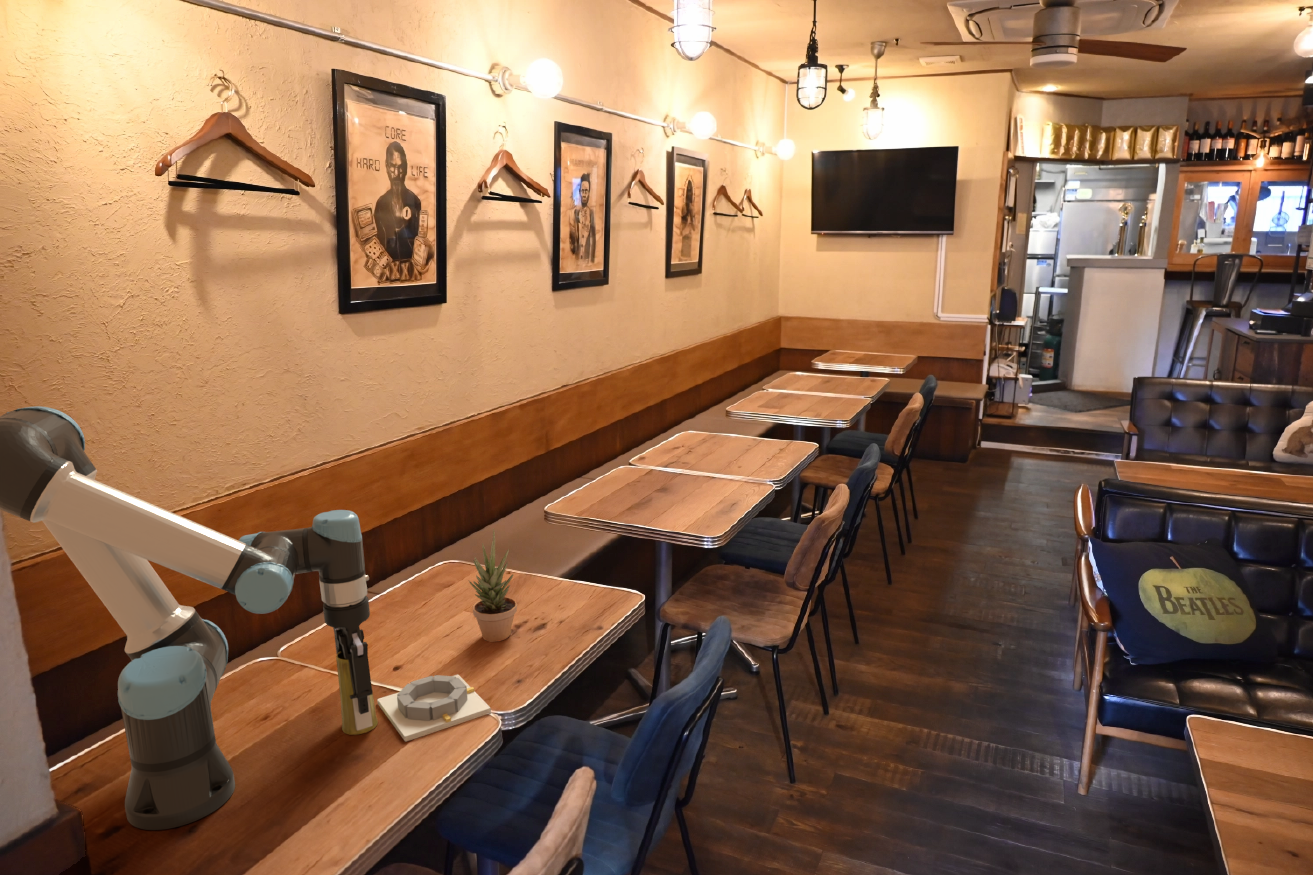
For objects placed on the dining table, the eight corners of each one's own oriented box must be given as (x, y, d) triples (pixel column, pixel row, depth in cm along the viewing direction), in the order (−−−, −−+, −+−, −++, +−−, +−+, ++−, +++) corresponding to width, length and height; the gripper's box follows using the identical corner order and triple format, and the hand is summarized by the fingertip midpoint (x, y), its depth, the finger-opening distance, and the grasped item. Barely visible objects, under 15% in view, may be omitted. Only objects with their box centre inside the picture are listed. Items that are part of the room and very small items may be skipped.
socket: (405, 741, 152) (403, 723, 151) (377, 703, 165) (375, 686, 164) (491, 712, 161) (489, 695, 160) (458, 678, 174) (457, 662, 173)
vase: (366, 736, 154) (358, 662, 151) (335, 733, 155) (326, 659, 152) (383, 718, 160) (376, 646, 156) (353, 715, 161) (345, 644, 158)
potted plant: (510, 646, 187) (503, 536, 182) (468, 644, 188) (459, 535, 183) (525, 626, 197) (518, 521, 191) (484, 624, 198) (476, 520, 193)
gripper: (383, 611, 146) (396, 735, 151) (352, 577, 162) (365, 692, 167) (337, 622, 142) (352, 750, 147) (310, 587, 158) (324, 704, 163)
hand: (359, 719), depth 157 cm, fingers closed on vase, 6 cm apart
